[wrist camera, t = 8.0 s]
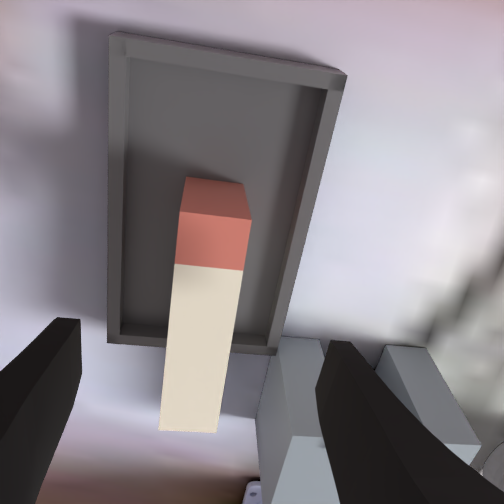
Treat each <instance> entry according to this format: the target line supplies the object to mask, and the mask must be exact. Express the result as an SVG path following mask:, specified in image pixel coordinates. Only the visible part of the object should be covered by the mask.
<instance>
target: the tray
mask: <svg viewBox="0 0 504 504" xmlns="http://www.w3.org/2000/svg"><path fill="white" fill-rule="evenodd" d="M346 79H347V75H346V74H345V73H343V72H342V71H340V70H339V69H335V68H330V67H324V66H318V65H312V64H306V63H300V62H294V61H288V60H283V59H277V58H271V57H265V56H259V55H253V54H247V53H241V52H236V51H230V50H224V49H218V48H212V47H206V46H200V45H194V44H189V43H183V42H177V41H171V40H165V39H159V38H153V37H147V36H142V35H136V34H130V33H124V32H118V31H117V32H114V33H112V34H110V35H109V80H108V268H107V343H113V344H126V345H139V346H153V347H167V337H168V326H169V316H170V306H171V296H172V285H173V275H174V265H175V255H176V244H177V234H178V224H179V213H180V207H181V202H182V196H183V191H184V185H185V180H186V177H193V178H201V179H209V180H216V181H224V182H232V183H239V184H243V185H244V189H245V193H246V197H247V202H248V206H249V210H250V214H251V219H252V222H251V228H250V234H249V240H248V246H247V252H246V258H245V264H244V270H243V276H242V282H241V288H240V294H239V300H238V306H237V312H236V318H235V324H234V330H233V336H232V342H231V348H230V352H231V353H244V354H257V355H270V356H276V354H277V350H278V346H279V342H280V338H281V334H282V330H283V326H284V323H285V319H286V315H287V311H288V307H289V303H290V299H291V295H292V291H293V287H294V283H295V279H296V275H297V272H298V268H299V264H300V260H301V256H302V252H303V248H304V244H305V240H306V236H307V232H308V228H309V224H310V221H311V217H312V213H313V209H314V205H315V201H316V197H317V193H318V189H319V185H320V181H321V177H322V173H323V170H324V166H325V162H326V158H327V154H328V150H329V146H330V142H331V138H332V134H333V130H334V126H335V122H336V119H337V115H338V111H339V107H340V103H341V99H342V95H343V91H344V87H345V83H346Z"/></svg>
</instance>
